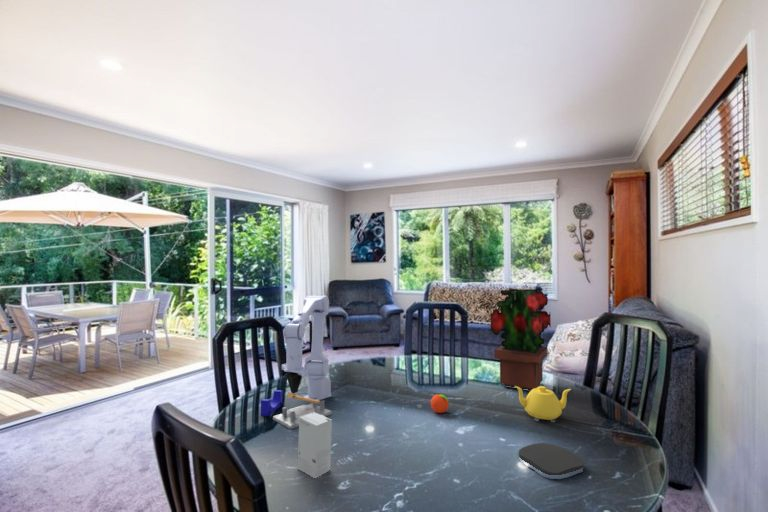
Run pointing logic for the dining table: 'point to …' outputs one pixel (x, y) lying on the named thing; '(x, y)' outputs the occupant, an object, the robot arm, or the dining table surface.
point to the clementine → (439, 403)
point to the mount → (300, 414)
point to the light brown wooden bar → (303, 398)
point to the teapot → (543, 403)
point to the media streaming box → (551, 458)
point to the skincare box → (314, 444)
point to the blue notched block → (271, 403)
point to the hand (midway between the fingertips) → (294, 392)
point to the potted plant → (521, 337)
